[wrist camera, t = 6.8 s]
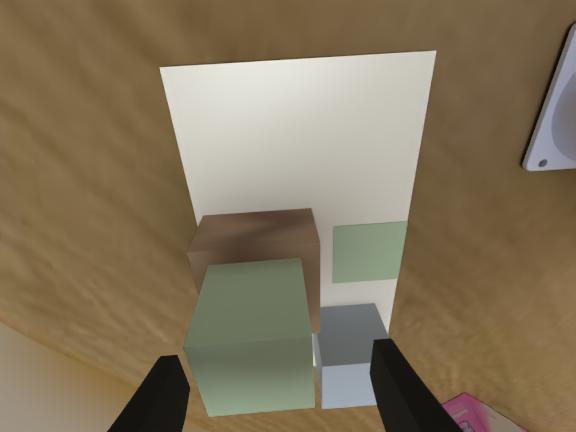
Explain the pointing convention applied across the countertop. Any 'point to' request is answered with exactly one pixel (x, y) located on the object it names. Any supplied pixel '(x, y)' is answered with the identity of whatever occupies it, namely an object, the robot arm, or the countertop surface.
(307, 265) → the walnut base
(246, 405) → the sage cube
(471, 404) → the gum box
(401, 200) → the white rectangular board
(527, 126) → the countertop surface
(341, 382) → the slate cube
